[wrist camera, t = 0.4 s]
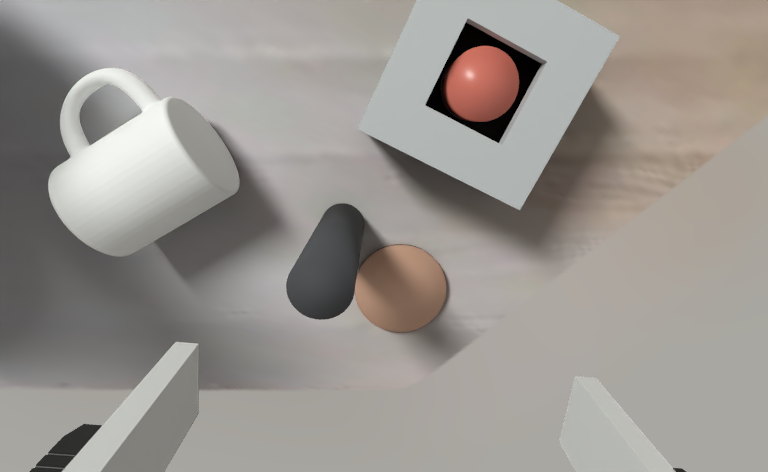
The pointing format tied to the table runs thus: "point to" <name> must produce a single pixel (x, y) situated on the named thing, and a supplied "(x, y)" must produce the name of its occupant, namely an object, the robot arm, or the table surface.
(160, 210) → the mug
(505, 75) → the button
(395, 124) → the square hole box
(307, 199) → the table surface
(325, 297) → the rod
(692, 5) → the table surface
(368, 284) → the coaster
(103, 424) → the robot arm
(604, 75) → the table surface
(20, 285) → the table surface
